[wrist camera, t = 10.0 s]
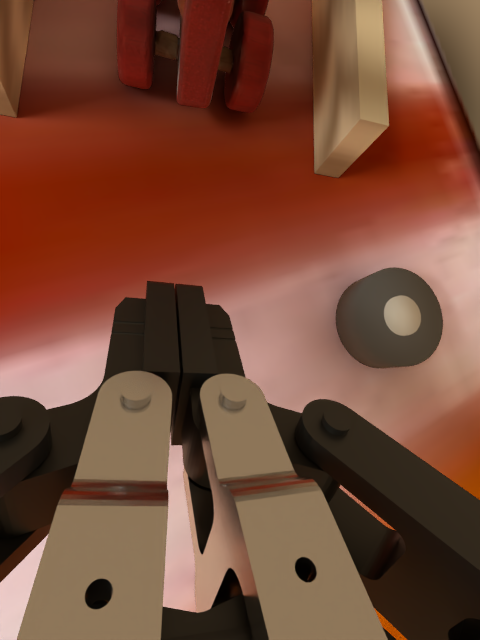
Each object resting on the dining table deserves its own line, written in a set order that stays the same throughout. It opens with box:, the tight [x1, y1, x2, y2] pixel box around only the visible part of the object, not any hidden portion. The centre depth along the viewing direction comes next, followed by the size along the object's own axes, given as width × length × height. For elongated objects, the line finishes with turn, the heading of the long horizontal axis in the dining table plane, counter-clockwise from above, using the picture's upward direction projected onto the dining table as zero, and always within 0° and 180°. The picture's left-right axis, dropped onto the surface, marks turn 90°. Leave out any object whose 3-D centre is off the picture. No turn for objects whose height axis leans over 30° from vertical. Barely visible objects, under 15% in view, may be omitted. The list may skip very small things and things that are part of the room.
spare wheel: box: [336, 268, 443, 368], centre depth 19 cm, size 5×5×2 cm
